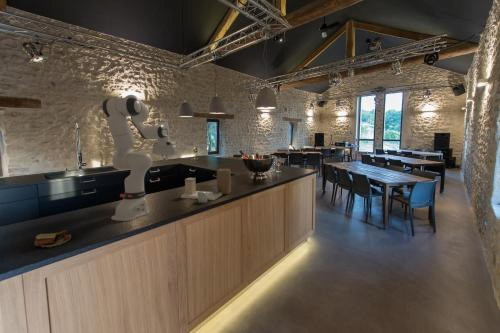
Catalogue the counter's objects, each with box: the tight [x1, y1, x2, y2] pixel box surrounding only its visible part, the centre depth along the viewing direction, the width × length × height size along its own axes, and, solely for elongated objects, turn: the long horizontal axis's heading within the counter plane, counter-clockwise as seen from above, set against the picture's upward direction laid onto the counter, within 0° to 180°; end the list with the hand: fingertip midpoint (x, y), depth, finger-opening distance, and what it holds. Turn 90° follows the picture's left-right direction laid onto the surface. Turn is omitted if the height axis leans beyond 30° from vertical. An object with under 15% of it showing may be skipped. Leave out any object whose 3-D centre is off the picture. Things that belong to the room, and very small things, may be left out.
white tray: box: [180, 190, 223, 201], centre depth 198 cm, size 16×28×2 cm, turn 74°
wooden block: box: [216, 168, 232, 195], centre depth 207 cm, size 10×10×20 cm
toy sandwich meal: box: [33, 229, 72, 248], centre depth 117 cm, size 12×14×5 cm
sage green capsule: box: [197, 190, 208, 204], centre depth 183 cm, size 7×7×7 cm
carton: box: [184, 177, 197, 194], centre depth 200 cm, size 6×6×12 cm
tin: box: [212, 186, 219, 194], centre depth 200 cm, size 4×4×5 cm
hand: (165, 160), depth 195 cm, fingers closed
